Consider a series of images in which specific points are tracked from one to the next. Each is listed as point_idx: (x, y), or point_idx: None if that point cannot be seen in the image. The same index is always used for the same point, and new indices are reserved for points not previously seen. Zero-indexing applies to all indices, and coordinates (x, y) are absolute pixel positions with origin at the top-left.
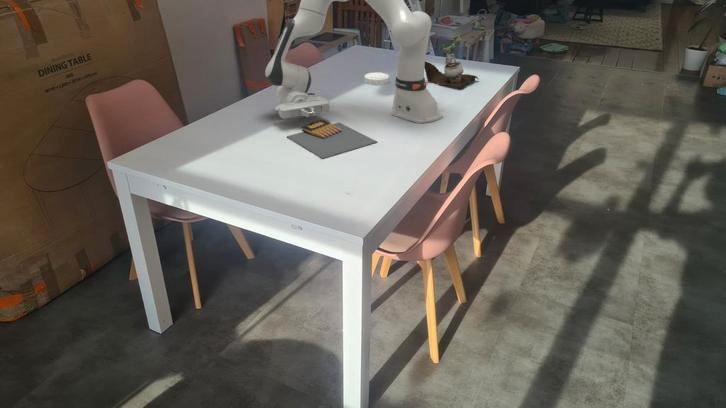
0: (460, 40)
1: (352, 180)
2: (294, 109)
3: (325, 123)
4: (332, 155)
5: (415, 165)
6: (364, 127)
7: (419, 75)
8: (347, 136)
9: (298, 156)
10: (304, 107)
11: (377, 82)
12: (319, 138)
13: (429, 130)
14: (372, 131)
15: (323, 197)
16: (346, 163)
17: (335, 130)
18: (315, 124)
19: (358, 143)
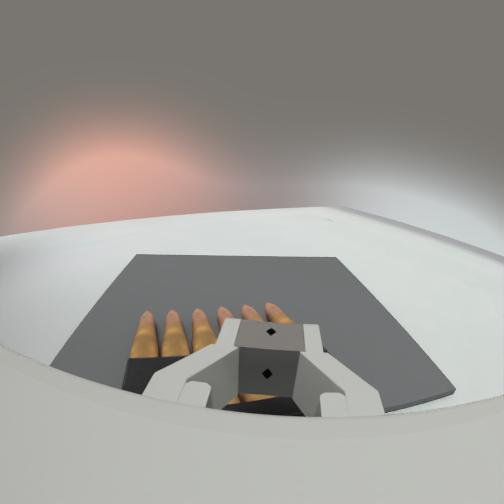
0: None
1: (307, 225)
2: (483, 401)
3: (161, 367)
4: (303, 257)
5: (180, 218)
6: (36, 313)
7: None
8: (169, 293)
9: (399, 282)
10: (306, 419)
11: None
12: None
13: (9, 248)
14: (62, 288)
15: (365, 224)
16: (288, 242)
17: (178, 316)
18: (234, 399)
19: (187, 262)
